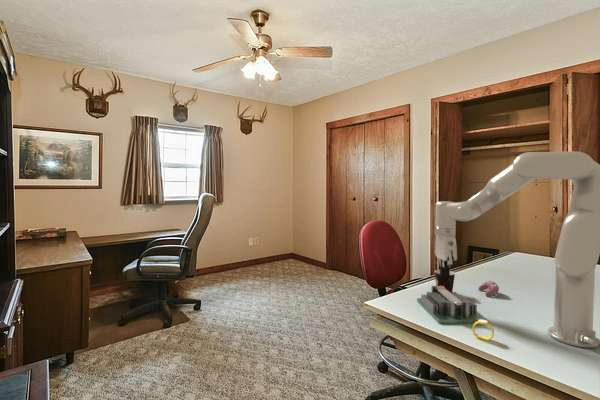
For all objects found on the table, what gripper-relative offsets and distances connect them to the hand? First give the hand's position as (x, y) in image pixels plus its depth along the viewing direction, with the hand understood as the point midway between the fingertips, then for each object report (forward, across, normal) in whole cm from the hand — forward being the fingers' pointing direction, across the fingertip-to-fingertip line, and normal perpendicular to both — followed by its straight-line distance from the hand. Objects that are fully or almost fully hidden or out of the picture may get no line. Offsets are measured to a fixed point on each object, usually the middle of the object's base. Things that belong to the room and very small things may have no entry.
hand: (444, 276), depth 128 cm
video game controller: (+13, +17, -28) cm, 36 cm away
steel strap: (+7, -4, 0) cm, 8 cm away
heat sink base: (+13, -4, 0) cm, 14 cm away
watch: (+13, -26, -1) cm, 29 cm away
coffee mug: (+13, +16, -7) cm, 22 cm away
